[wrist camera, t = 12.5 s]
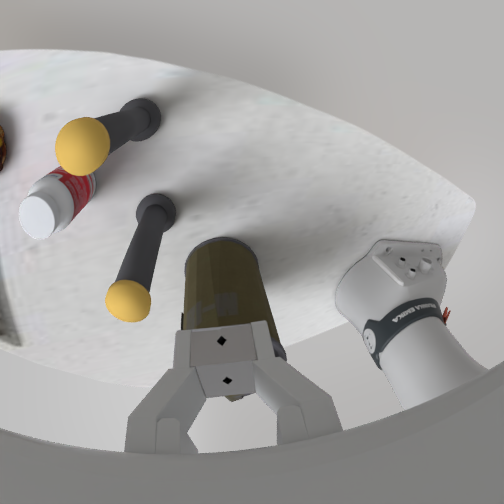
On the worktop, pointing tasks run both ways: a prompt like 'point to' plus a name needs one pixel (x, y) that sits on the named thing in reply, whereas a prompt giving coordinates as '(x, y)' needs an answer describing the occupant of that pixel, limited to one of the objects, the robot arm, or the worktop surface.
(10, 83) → the worktop surface
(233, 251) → the canister
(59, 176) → the pill bottle
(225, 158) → the worktop surface
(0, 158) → the burger
